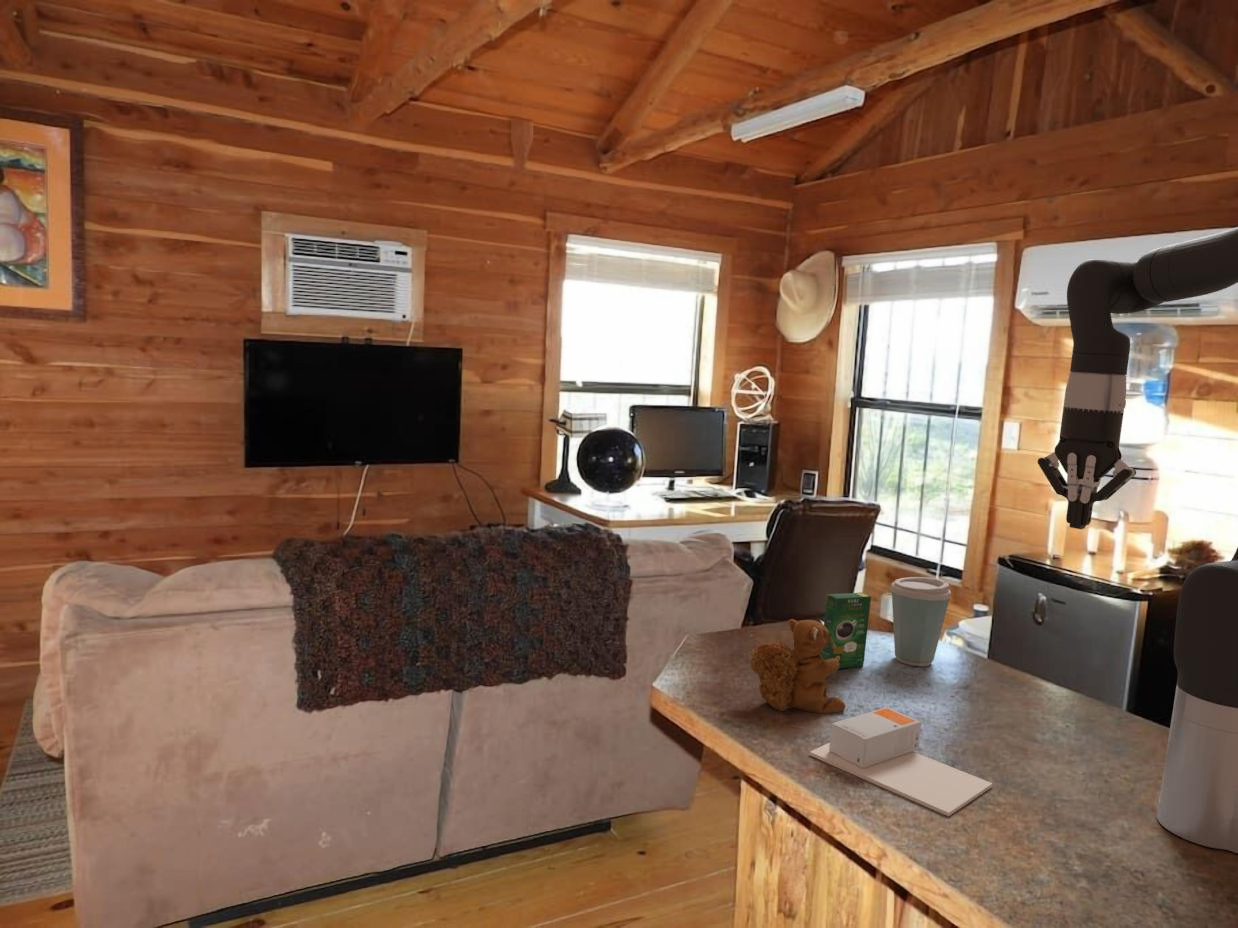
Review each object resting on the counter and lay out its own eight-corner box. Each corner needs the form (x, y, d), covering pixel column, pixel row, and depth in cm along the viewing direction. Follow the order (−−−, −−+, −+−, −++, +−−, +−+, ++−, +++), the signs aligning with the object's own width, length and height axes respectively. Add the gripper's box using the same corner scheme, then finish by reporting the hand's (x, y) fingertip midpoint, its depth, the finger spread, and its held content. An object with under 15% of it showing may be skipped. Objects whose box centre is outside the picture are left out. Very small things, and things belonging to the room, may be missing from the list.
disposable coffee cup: (891, 668, 158) (900, 586, 156) (876, 648, 169) (884, 570, 167) (952, 673, 158) (961, 590, 156) (932, 652, 169) (941, 574, 167)
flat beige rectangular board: (992, 786, 116) (992, 783, 116) (948, 816, 108) (948, 812, 108) (857, 732, 131) (857, 729, 131) (809, 755, 122) (809, 751, 122)
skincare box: (922, 720, 124) (866, 739, 117) (919, 749, 125) (863, 770, 118) (886, 705, 129) (830, 722, 122) (883, 733, 130) (827, 751, 123)
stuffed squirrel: (850, 712, 138) (858, 629, 137) (771, 721, 133) (778, 635, 131) (813, 687, 147) (820, 610, 146) (738, 695, 142) (744, 615, 140)
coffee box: (854, 661, 161) (861, 590, 160) (865, 666, 159) (872, 595, 157) (818, 665, 158) (825, 593, 156) (828, 671, 155) (835, 598, 154)
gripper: (1034, 402, 127) (1019, 521, 130) (1136, 411, 118) (1118, 540, 120) (1055, 402, 133) (1040, 517, 135) (1154, 410, 123) (1137, 534, 126)
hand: (1077, 527), depth 128 cm, fingers closed
